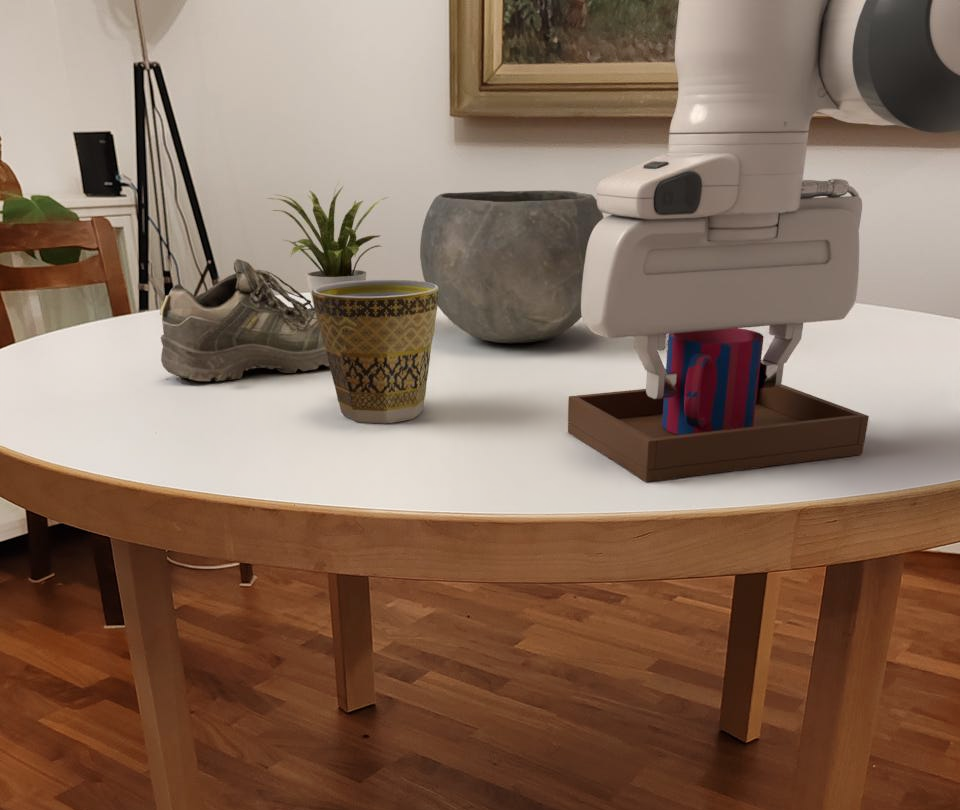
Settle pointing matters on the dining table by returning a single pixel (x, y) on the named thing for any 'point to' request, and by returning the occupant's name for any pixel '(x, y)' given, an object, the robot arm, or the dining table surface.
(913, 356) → the dining table surface
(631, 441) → the tray
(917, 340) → the dining table surface
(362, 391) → the ceramic cup
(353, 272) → the house plant
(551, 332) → the bowl
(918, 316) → the dining table surface
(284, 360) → the hiking shoe
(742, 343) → the cup
